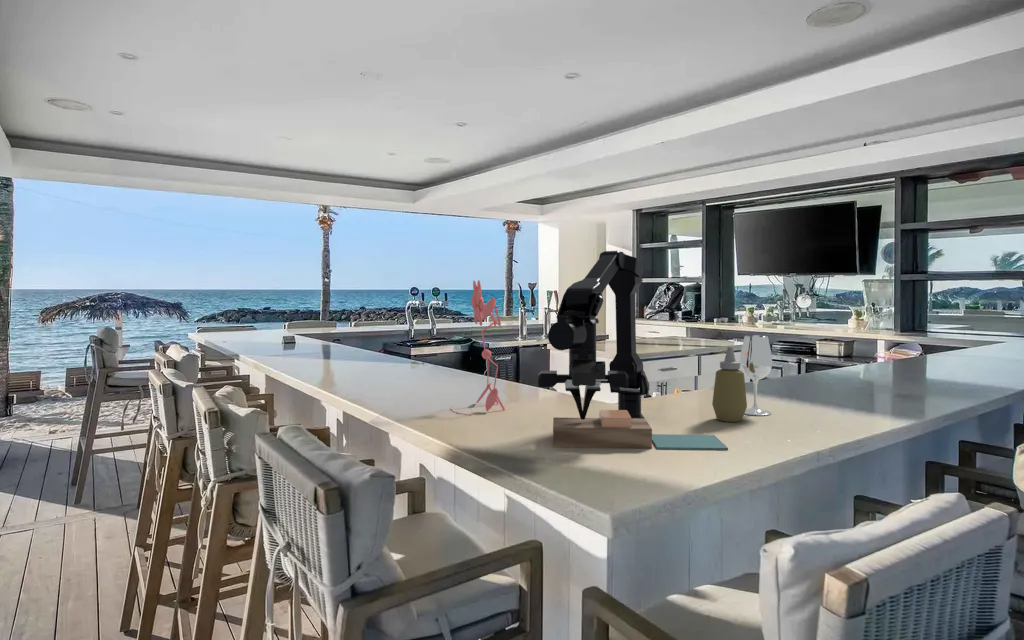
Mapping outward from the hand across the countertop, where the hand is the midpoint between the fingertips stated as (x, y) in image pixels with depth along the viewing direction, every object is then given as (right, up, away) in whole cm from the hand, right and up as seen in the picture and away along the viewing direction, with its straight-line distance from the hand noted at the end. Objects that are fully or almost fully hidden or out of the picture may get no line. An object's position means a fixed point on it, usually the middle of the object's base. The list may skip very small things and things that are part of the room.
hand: (582, 419), depth 130 cm
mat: (+22, -5, -1) cm, 22 cm away
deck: (+4, -5, 0) cm, 6 cm away
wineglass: (+48, -3, +29) cm, 56 cm away
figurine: (-25, -3, +37) cm, 45 cm away
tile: (+7, -1, -1) cm, 7 cm away
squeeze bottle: (+38, -4, +20) cm, 44 cm away
